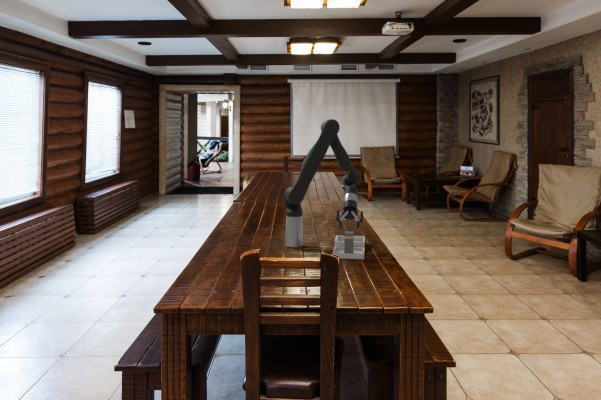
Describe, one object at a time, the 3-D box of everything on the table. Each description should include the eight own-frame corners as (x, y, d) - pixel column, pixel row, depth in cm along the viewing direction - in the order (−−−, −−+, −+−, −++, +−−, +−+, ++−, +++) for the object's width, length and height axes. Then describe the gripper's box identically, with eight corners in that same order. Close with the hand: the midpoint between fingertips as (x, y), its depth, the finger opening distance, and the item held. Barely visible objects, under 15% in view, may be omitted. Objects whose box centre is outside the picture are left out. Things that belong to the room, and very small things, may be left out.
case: (334, 251, 264) (334, 242, 263) (336, 244, 279) (336, 235, 278) (364, 252, 262) (364, 242, 261) (364, 244, 277) (364, 236, 276)
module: (344, 254, 253) (344, 233, 252) (344, 251, 258) (344, 231, 257) (353, 254, 253) (353, 233, 251) (353, 252, 258) (353, 231, 256)
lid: (332, 258, 250) (332, 253, 250) (334, 251, 264) (334, 246, 263) (364, 259, 248) (364, 254, 247) (364, 252, 262) (364, 247, 261)
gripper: (337, 198, 265) (335, 223, 256) (363, 199, 264) (362, 224, 254) (337, 206, 271) (335, 231, 262) (363, 207, 270) (362, 232, 260)
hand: (349, 228), depth 258 cm, fingers open, 8 cm apart
